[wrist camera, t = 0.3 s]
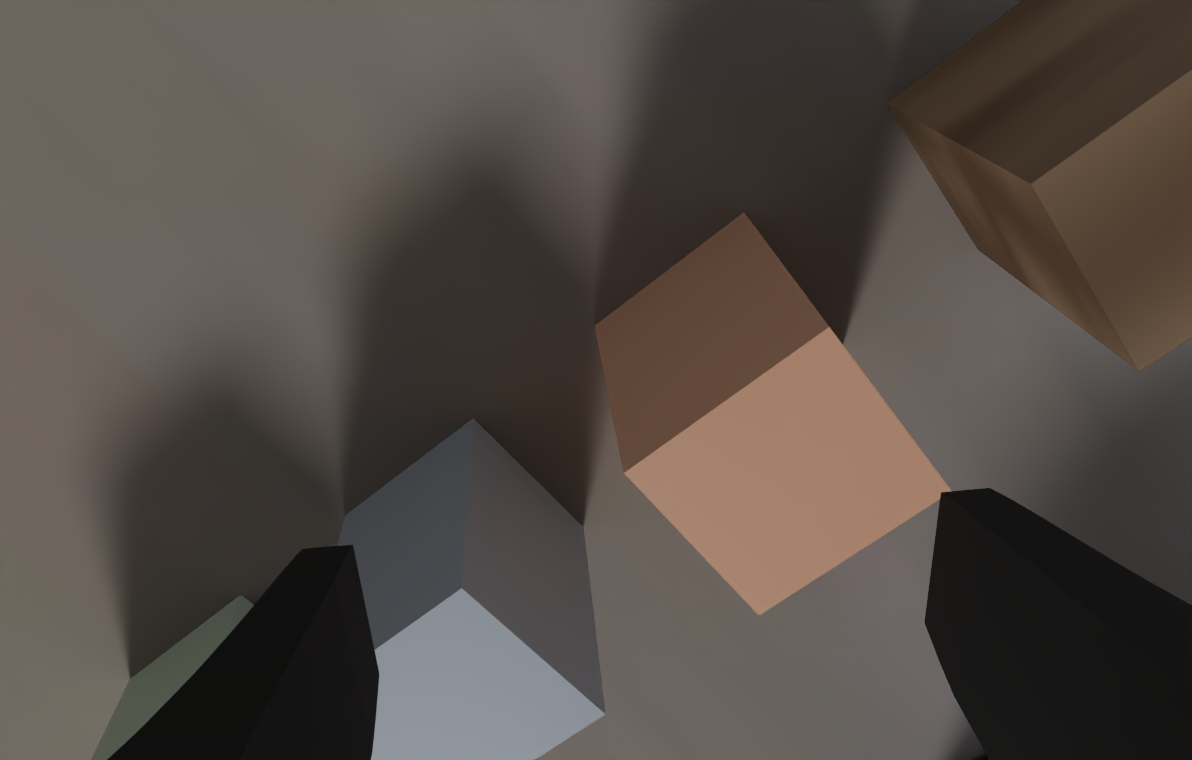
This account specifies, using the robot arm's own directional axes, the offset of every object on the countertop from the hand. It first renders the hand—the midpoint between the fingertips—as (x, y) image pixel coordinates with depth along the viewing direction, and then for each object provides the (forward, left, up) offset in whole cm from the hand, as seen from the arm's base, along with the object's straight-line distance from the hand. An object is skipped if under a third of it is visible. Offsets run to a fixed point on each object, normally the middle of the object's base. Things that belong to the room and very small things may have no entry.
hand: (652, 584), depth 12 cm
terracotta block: (-3, -2, -10) cm, 10 cm away
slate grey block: (-3, +6, -10) cm, 12 cm away
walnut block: (-3, -9, -10) cm, 14 cm away
